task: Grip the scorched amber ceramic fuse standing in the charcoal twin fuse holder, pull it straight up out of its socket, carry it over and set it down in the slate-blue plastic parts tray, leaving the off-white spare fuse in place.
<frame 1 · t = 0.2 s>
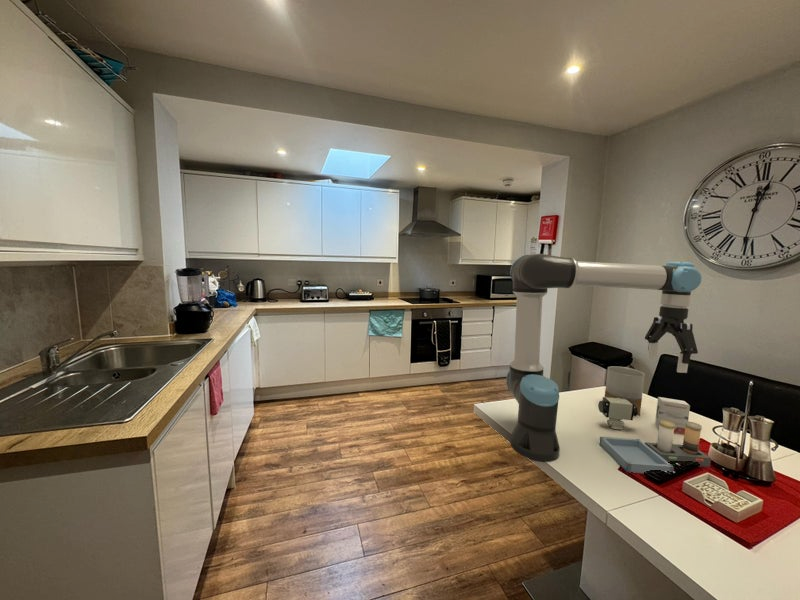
hand: (665, 366, 112), 27 cm above the table, fingers open, 13 cm apart
ink box: (669, 430, 121), on the table
spare fuse: (662, 457, 103), resting in fuse holder
blown fuse: (688, 459, 102), resting in fuse holder
pneumatic valve: (614, 427, 122), on the table
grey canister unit: (621, 410, 137), on the table
fuse holder: (675, 458, 102), on the table
parts tray: (633, 458, 101), on the table
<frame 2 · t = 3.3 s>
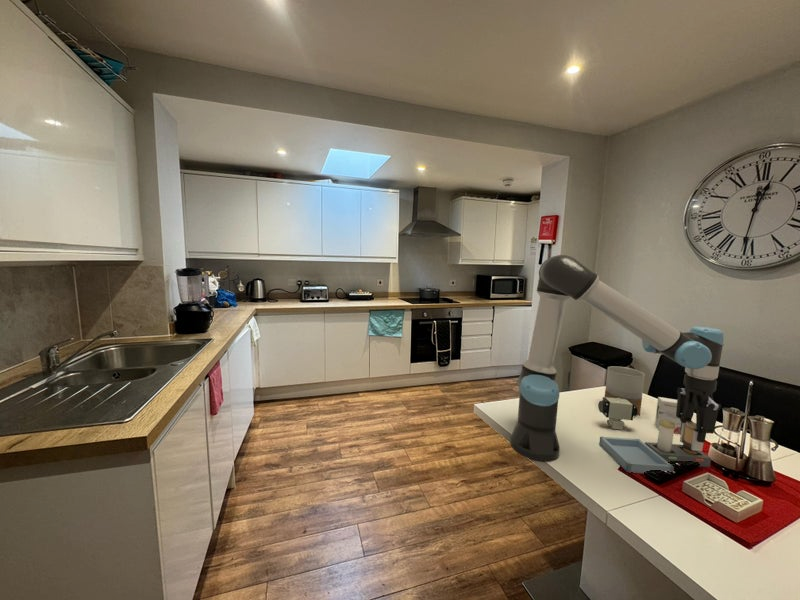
hand: (690, 446, 102), 5 cm above the table, fingers closed on blown fuse, 4 cm apart
blown fuse: (688, 459, 102), resting in fuse holder, touching gripper
everything else where it was.
when the fingers open (7 cm above the table, at t = 8.9 s): blown fuse drops 2 cm, resting on parts tray.
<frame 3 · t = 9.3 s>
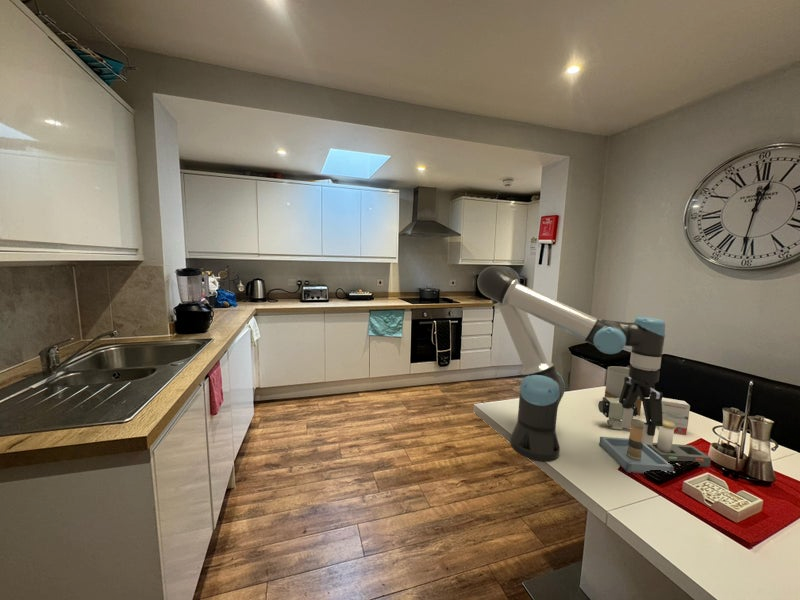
hand: (636, 435, 101), 8 cm above the table, fingers open, 9 cm apart
blown fuse: (633, 457, 101), point 1 cm above the table, touching parts tray
everything else where it was.
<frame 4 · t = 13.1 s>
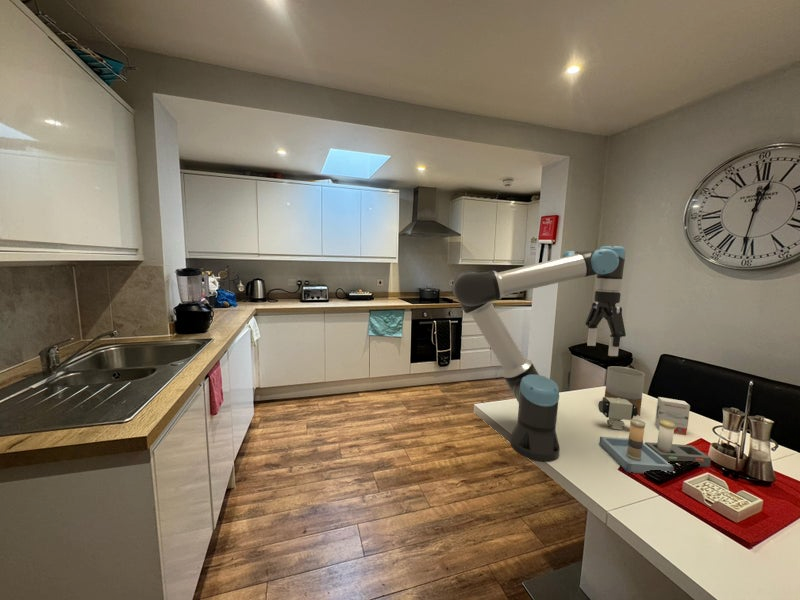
hand: (601, 350, 112), 32 cm above the table, fingers open, 13 cm apart
nothing on the table moved.
at the end: blown fuse inside the target area on the parts tray (0.1 cm from its centre), point 0.6 cm above the parts tray's base; the gripper is holding nothing; spare fuse 0.0 cm from the target spot on the fuse holder, point 0.0 cm above the fuse holder's base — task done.
